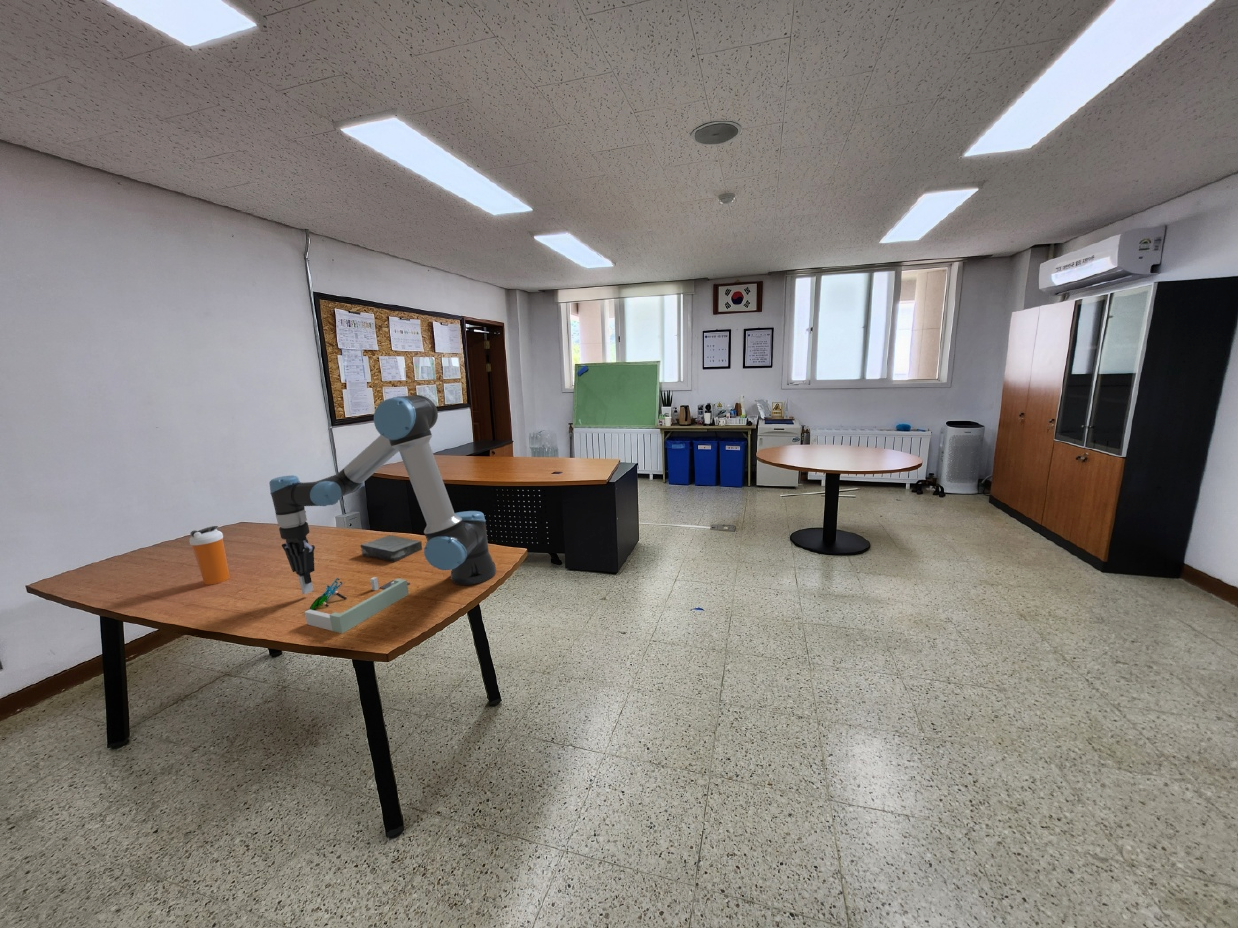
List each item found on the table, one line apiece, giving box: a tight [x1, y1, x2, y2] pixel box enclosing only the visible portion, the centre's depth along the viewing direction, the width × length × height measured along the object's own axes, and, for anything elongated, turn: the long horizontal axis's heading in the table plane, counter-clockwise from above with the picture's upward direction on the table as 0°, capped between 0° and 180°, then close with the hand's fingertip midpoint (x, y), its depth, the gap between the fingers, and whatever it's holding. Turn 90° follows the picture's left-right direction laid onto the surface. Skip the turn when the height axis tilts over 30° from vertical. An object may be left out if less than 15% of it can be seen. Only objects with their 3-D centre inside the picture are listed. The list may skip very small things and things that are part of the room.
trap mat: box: [379, 579, 411, 590], centre depth 150 cm, size 8×6×1 cm
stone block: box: [359, 535, 423, 563], centre depth 179 cm, size 14×20×5 cm
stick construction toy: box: [309, 577, 348, 610], centre depth 140 cm, size 12×7×8 cm
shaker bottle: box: [188, 525, 231, 586], centre depth 159 cm, size 9×9×20 cm
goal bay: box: [329, 578, 410, 634], centre depth 133 cm, size 4×23×5 cm, turn 158°
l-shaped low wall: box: [304, 576, 394, 632], centre depth 136 cm, size 11×23×4 cm, turn 158°
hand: (307, 591), depth 145 cm, fingers closed
